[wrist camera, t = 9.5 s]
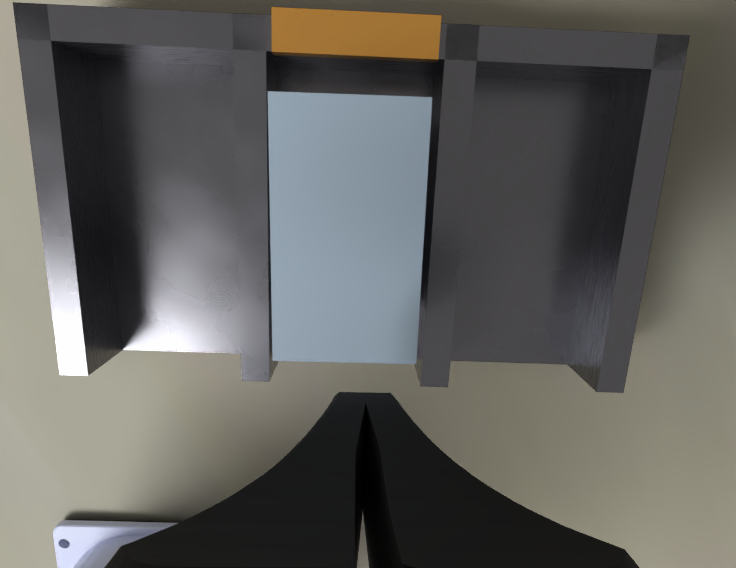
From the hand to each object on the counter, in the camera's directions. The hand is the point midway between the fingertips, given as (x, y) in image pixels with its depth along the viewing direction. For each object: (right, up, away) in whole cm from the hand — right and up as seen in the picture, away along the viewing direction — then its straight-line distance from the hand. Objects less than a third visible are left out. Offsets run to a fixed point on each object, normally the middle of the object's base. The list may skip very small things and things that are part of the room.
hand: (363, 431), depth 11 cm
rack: (-1, +7, +8) cm, 10 cm away
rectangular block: (0, +6, +7) cm, 9 cm away
